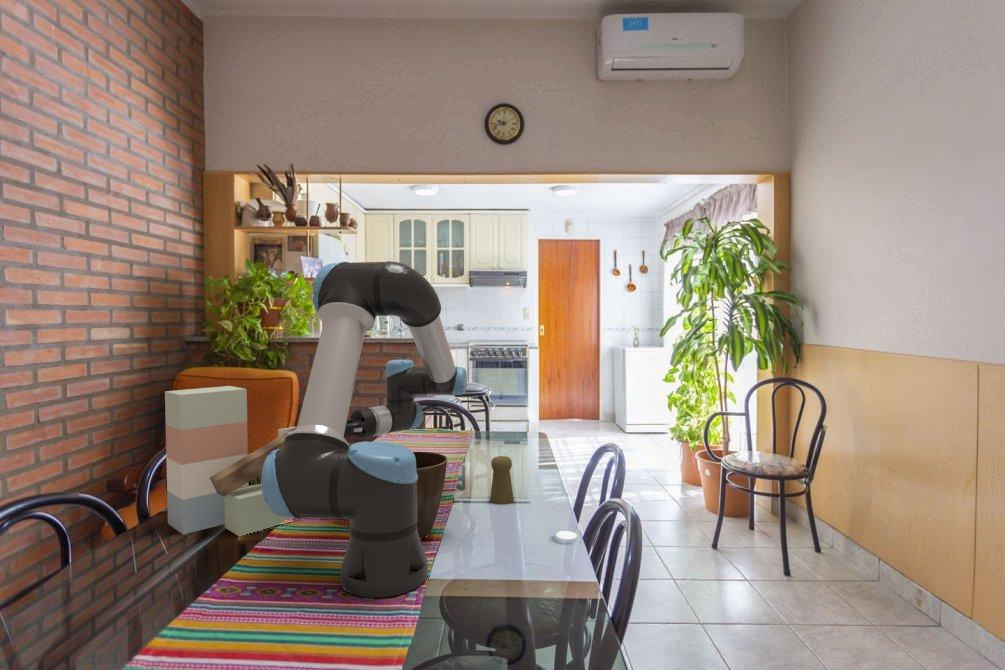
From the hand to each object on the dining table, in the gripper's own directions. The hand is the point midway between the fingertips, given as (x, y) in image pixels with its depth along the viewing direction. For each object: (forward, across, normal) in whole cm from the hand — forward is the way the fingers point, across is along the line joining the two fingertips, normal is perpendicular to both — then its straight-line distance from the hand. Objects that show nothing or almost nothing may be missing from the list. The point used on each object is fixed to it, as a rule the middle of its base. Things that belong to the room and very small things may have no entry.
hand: (283, 436), depth 131 cm
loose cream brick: (+6, 0, -19) cm, 20 cm away
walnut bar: (+2, 0, -5) cm, 6 cm away
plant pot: (-13, -31, -19) cm, 39 cm away
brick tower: (+13, +11, -19) cm, 25 cm away
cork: (-42, -29, -19) cm, 55 cm away
